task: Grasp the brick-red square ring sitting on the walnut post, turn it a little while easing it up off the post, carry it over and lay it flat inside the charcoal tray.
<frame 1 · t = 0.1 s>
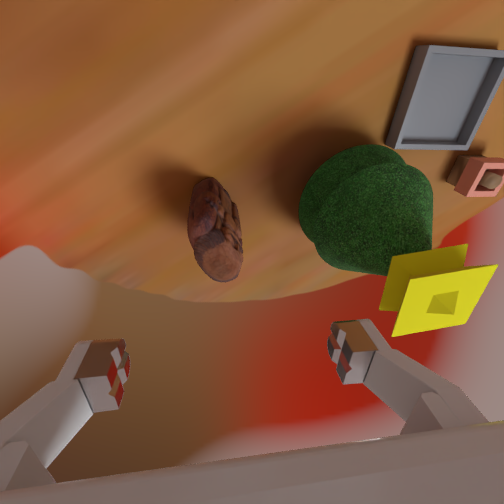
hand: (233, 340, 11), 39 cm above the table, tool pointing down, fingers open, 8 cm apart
decorative tree: (339, 189, 51), on the table
ring: (476, 174, 49), point 3 cm above the table, touching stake
tray: (437, 101, 44), on the table
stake: (463, 168, 52), on the table
wooden figurine: (216, 205, 50), on the table
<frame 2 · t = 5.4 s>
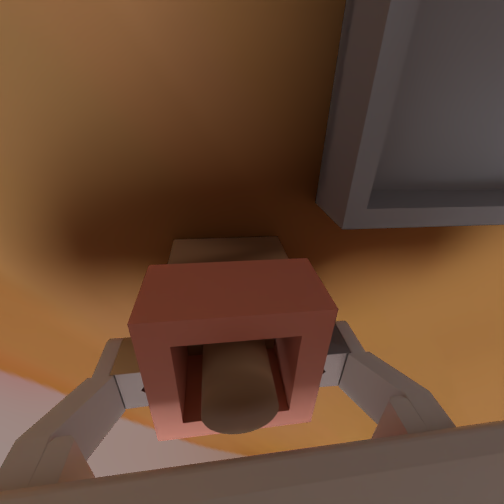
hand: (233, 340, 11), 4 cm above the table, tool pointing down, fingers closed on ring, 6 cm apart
ring: (231, 320, 12), point 3 cm above the table, touching gripper, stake
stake: (227, 280, 14), on the table
when the fingers open (4 cm above the table, at t = 12.3 s): ring drops 2 cm, resting on tray.
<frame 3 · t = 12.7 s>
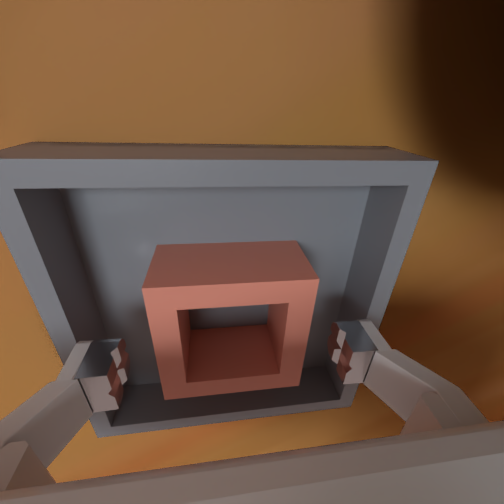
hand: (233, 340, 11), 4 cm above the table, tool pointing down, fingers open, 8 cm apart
ring: (229, 297, 13), point 1 cm above the table, touching tray
tray: (227, 286, 14), on the table
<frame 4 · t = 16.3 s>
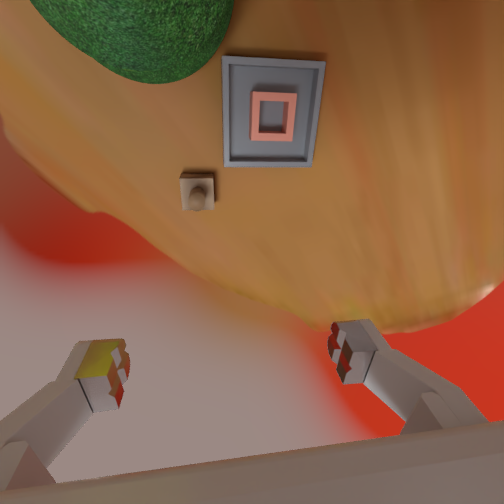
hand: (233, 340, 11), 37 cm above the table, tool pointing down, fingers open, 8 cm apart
ring: (269, 116, 40), point 1 cm above the table, touching tray
tray: (267, 116, 41), on the table
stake: (198, 188, 45), on the table
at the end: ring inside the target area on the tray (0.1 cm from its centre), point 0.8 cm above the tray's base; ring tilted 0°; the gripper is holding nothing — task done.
